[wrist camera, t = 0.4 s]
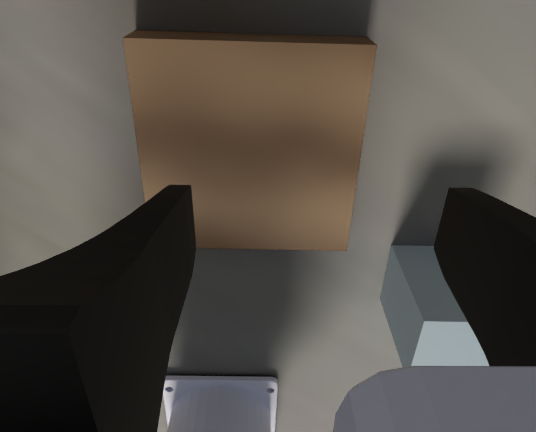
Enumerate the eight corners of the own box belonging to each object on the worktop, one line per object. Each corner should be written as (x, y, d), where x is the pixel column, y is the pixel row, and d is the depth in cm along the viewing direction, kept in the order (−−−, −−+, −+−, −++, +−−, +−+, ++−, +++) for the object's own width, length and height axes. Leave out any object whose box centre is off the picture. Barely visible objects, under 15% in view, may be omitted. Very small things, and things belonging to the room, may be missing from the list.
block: (444, 299, 27) (486, 381, 22) (380, 298, 27) (407, 379, 22) (460, 246, 25) (511, 322, 20) (391, 244, 25) (424, 321, 20)
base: (340, 229, 24) (346, 251, 22) (159, 226, 24) (151, 247, 22) (367, 36, 19) (376, 44, 17) (135, 30, 19) (122, 37, 17)
